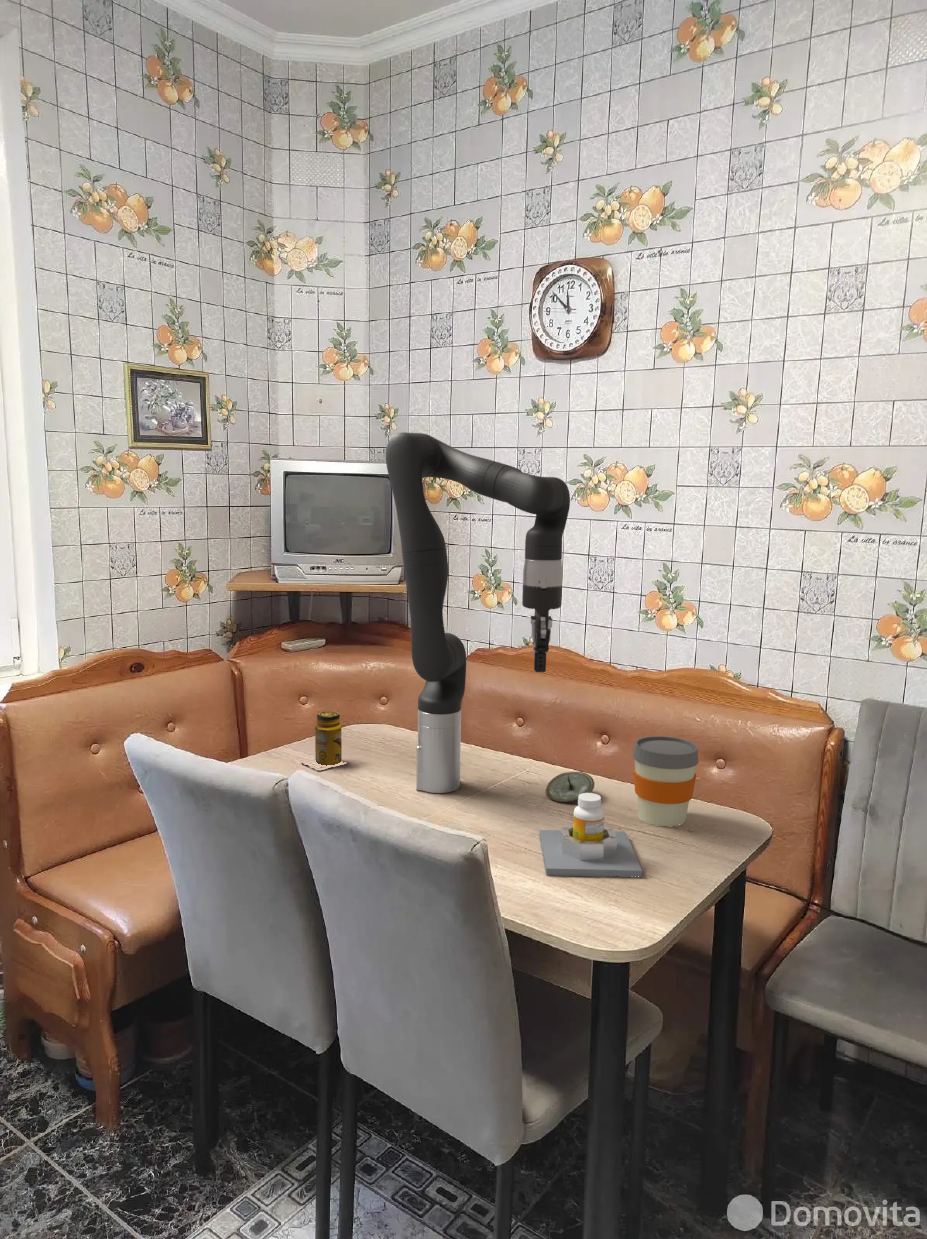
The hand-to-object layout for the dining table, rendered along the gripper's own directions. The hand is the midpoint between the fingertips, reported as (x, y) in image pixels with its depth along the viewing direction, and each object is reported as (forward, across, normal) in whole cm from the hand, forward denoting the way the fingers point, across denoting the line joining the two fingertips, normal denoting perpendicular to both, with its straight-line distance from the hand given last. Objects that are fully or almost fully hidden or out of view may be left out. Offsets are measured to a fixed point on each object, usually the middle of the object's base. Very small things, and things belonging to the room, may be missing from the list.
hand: (539, 671), depth 163 cm
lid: (+29, -10, +8) cm, 32 cm away
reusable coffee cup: (+29, +1, +25) cm, 38 cm away
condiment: (+29, -27, -47) cm, 62 cm away
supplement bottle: (+28, +19, +8) cm, 35 cm away
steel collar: (+28, +19, +8) cm, 35 cm away
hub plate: (+29, +19, +8) cm, 36 cm away
